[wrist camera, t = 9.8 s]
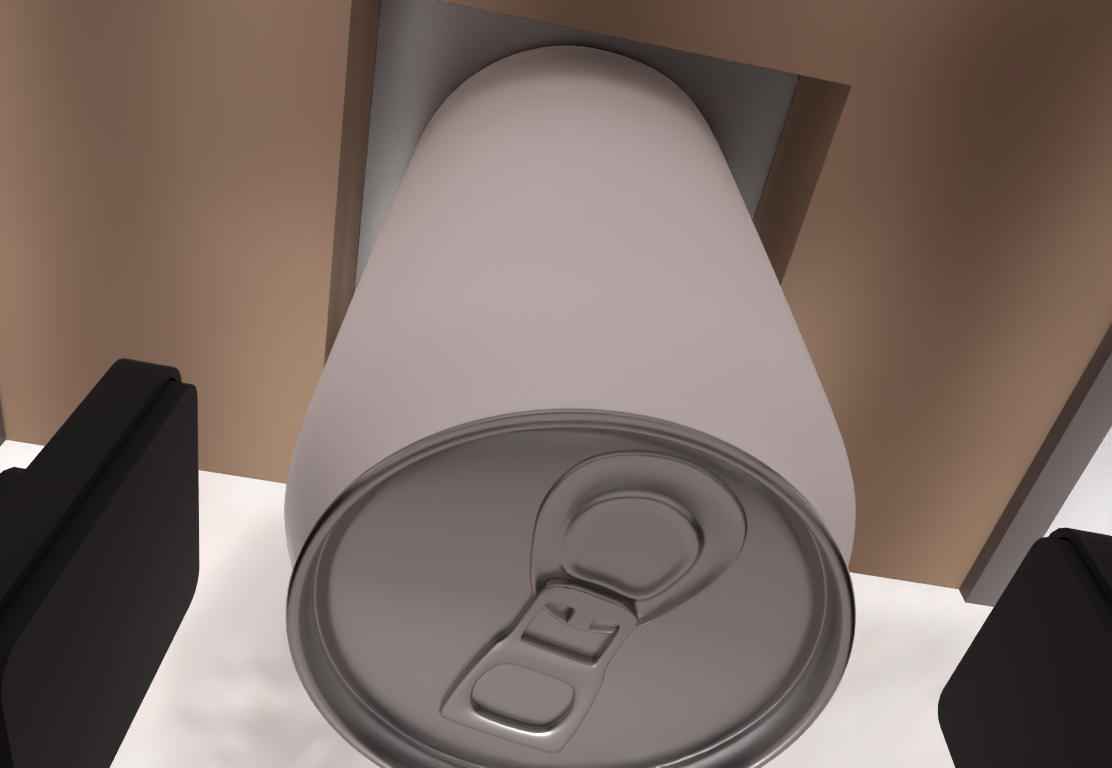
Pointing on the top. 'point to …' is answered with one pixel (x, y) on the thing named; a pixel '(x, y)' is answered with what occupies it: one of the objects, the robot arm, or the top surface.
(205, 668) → the top surface
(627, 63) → the can
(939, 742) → the top surface
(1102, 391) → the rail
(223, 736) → the top surface
